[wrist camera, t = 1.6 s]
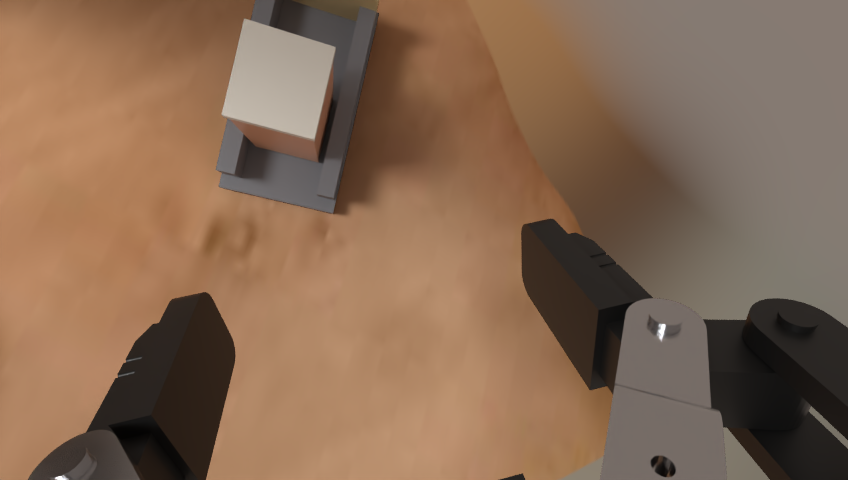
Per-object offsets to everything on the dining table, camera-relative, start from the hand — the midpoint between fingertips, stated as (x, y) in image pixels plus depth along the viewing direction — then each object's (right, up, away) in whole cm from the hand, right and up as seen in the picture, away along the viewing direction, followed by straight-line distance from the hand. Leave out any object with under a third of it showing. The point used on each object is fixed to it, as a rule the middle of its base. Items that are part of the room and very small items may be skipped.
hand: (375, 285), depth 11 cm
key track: (-8, +12, +23) cm, 27 cm away
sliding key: (-8, +10, +21) cm, 25 cm away
